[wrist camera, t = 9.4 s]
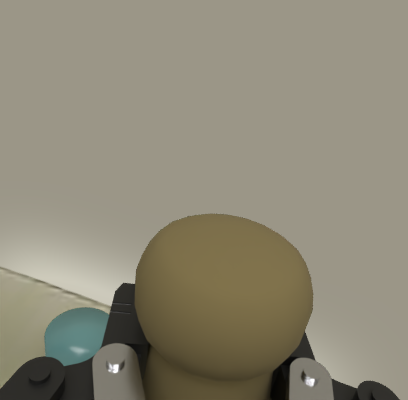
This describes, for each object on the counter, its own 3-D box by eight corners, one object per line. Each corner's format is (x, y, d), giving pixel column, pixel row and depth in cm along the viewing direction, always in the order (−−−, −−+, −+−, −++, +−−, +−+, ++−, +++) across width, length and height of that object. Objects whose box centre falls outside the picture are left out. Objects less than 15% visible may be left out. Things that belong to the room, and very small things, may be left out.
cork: (149, 379, 19) (175, 175, 14) (268, 429, 17) (343, 223, 12) (73, 514, 13) (72, 261, 8) (236, 601, 12) (345, 359, 7)
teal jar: (57, 439, 33) (53, 370, 29) (42, 385, 38) (37, 318, 34) (121, 410, 36) (126, 345, 32) (101, 363, 41) (103, 300, 37)
